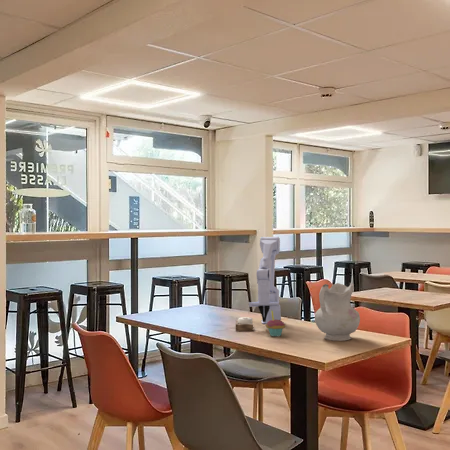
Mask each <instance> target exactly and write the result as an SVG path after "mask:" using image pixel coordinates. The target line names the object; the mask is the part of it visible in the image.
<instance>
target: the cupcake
mask: <svg viewBox="0 0 450 450" xmlns="http://www.w3.org/2000/svg"><path fill="white" fill-rule="evenodd" d="M271 310H272V309H271ZM271 313H272V320H270V321H268V322H267V324H265V326H266V328H267V329H268V332H269V334H270V336H271V337H281V335H282V334H283V333H282V332H283V329H286V325H285V324H286V323H285V322H283V321H282V319H281V320H276V319H275V320H274V316H273V311H271Z"/></svg>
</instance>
